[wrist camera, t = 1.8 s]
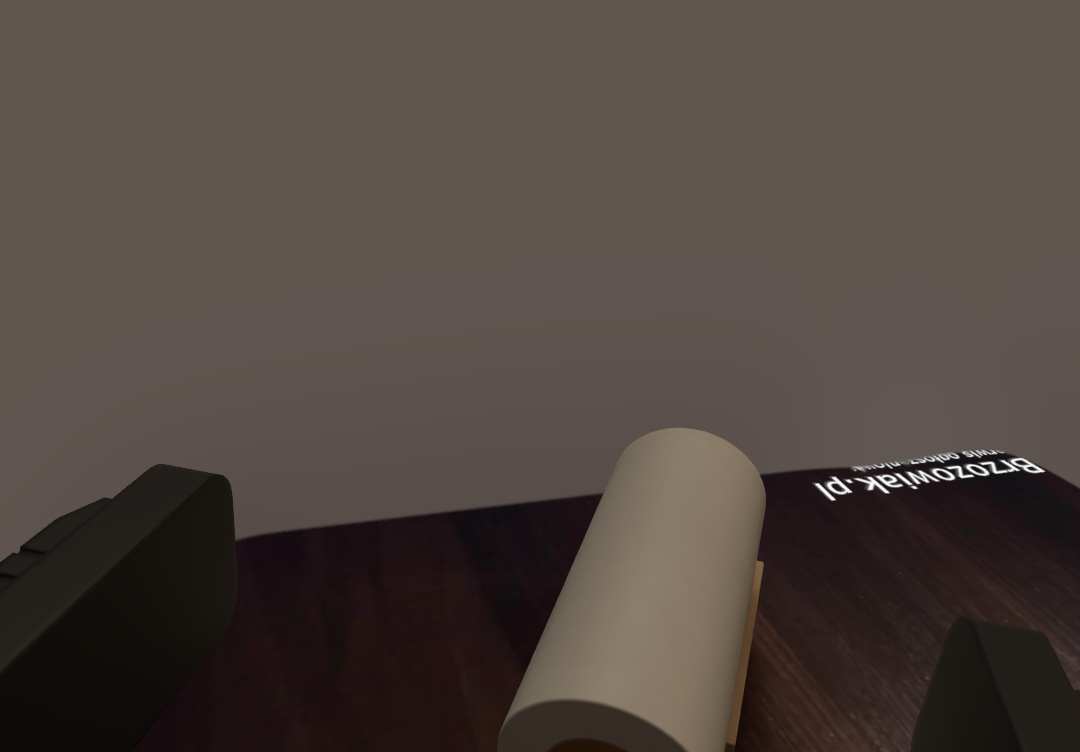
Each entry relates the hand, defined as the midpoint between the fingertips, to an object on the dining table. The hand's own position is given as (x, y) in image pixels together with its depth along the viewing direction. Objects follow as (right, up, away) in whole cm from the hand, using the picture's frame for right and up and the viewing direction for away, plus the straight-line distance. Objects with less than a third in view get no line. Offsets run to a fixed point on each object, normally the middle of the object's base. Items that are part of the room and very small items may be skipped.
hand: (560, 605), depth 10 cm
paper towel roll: (+3, -5, +18) cm, 19 cm away
